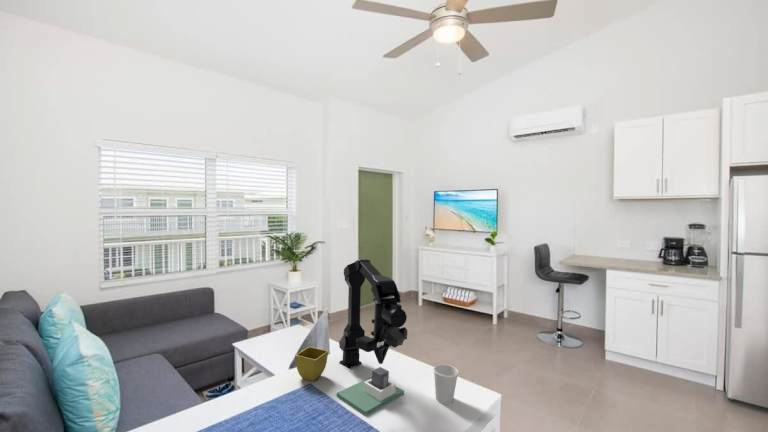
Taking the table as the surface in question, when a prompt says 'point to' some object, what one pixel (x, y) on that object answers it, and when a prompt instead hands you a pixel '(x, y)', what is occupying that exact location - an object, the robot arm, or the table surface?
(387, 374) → the plug
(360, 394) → the board
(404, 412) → the table surface
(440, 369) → the dixie cup
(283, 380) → the table surface
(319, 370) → the flower pot
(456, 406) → the table surface
